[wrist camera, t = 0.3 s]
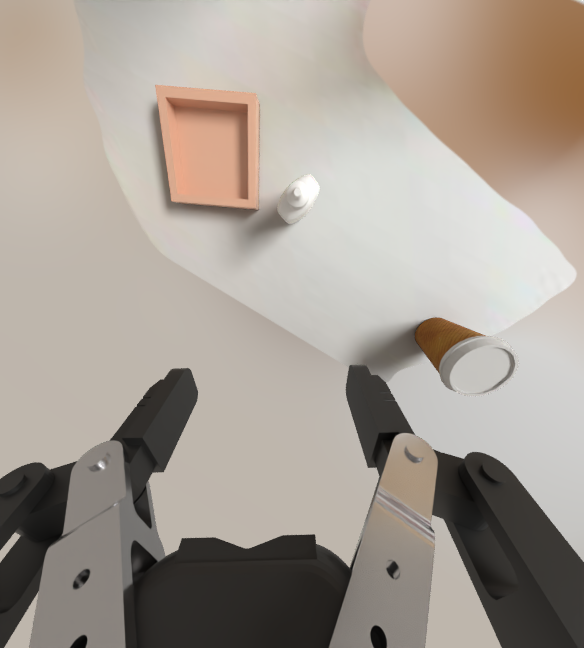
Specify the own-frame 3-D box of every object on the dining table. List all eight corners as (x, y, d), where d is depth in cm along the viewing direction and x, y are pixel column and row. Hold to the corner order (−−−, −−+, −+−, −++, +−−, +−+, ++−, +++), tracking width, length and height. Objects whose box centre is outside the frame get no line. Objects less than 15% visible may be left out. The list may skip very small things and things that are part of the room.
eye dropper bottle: (276, 194, 31) (263, 174, 20) (313, 183, 30) (321, 156, 19) (284, 226, 33) (276, 223, 22) (319, 216, 32) (329, 208, 21)
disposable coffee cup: (415, 361, 42) (455, 407, 31) (398, 324, 39) (437, 361, 28) (464, 340, 40) (527, 382, 29) (451, 299, 36) (516, 328, 26)
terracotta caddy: (167, 97, 27) (155, 84, 25) (259, 105, 27) (256, 93, 25) (180, 203, 32) (171, 201, 30) (258, 209, 32) (255, 208, 30)
